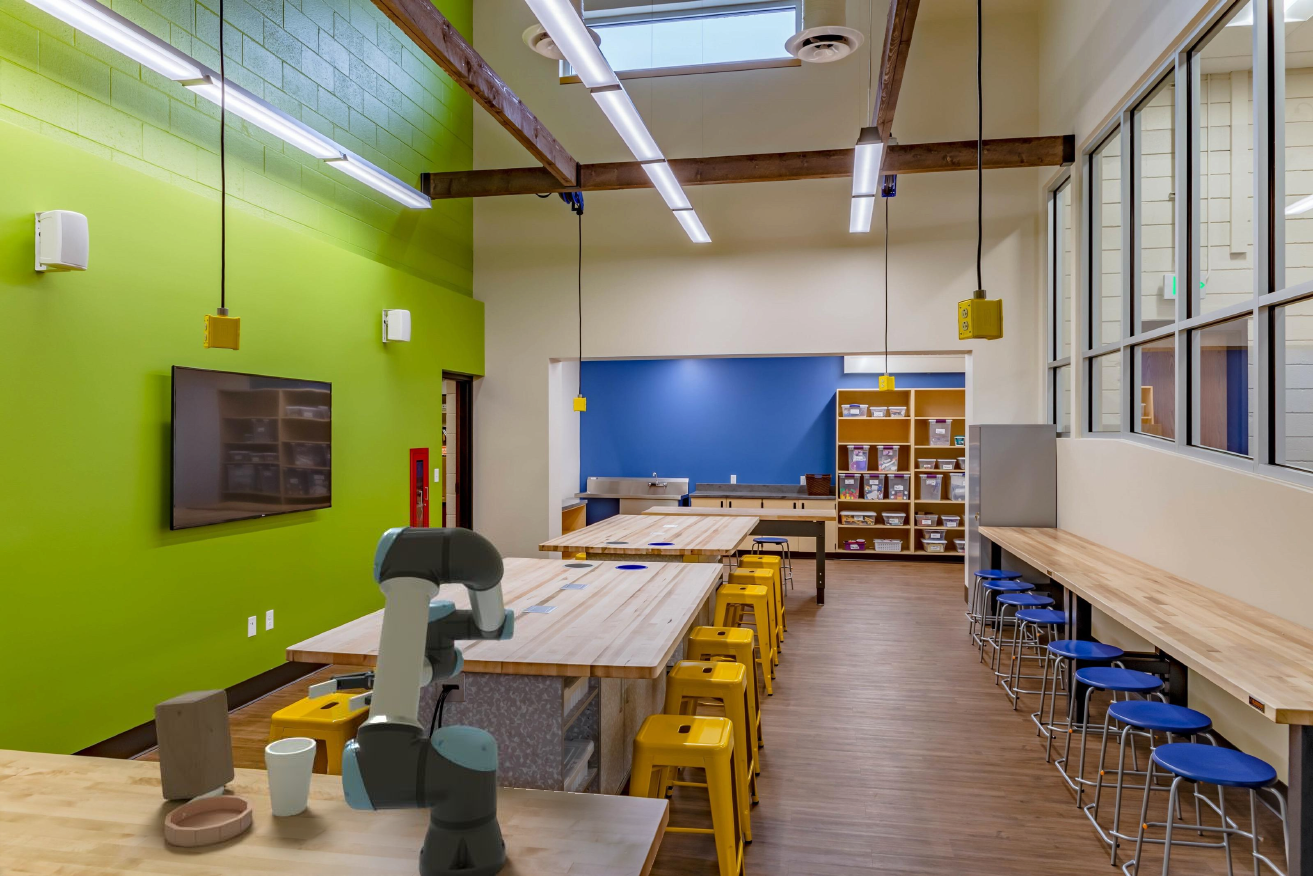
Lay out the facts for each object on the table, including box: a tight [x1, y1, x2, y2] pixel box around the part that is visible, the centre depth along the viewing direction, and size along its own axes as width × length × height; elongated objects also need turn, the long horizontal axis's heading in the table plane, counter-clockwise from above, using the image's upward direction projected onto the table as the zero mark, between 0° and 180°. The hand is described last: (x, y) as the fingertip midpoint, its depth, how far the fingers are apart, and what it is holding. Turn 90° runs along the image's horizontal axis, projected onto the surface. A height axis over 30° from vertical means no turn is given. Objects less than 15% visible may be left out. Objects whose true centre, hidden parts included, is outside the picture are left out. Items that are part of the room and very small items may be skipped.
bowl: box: [163, 794, 253, 848], centre depth 154 cm, size 15×15×3 cm
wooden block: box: [153, 688, 235, 801], centre depth 169 cm, size 10×10×20 cm
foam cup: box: [264, 737, 317, 818], centre depth 162 cm, size 10×9×13 cm
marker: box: [183, 784, 227, 818], centre depth 164 cm, size 3×2×16 cm
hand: (329, 699), depth 170 cm, fingers open, 13 cm apart
